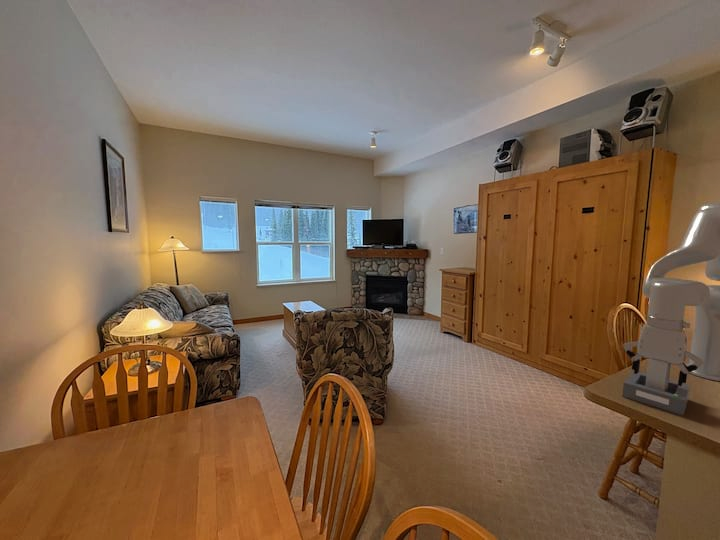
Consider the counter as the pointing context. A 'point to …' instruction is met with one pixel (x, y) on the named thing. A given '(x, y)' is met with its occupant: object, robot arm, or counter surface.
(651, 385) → the skincare box
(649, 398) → the port block
